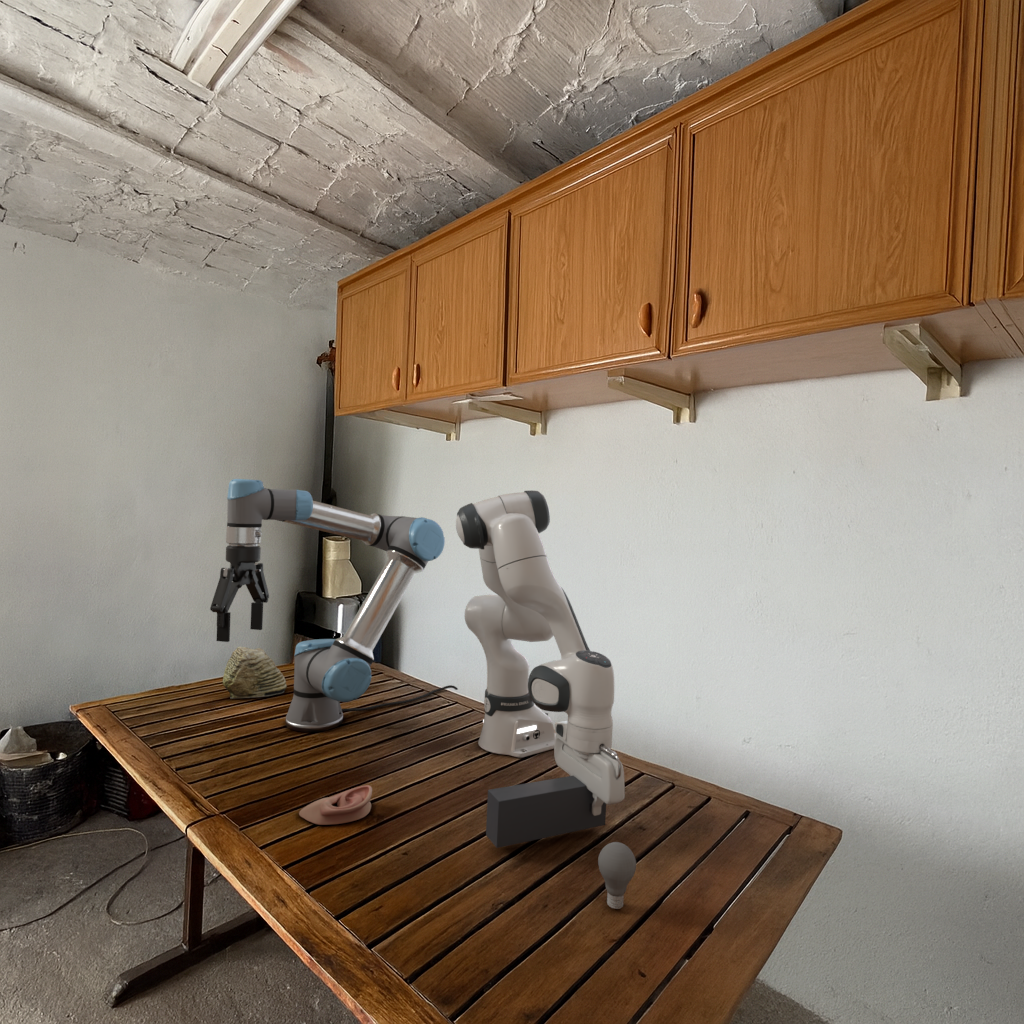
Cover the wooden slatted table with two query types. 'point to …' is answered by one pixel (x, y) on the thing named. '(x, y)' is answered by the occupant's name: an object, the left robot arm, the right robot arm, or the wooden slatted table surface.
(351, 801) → the anatomical model
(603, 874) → the light bulb
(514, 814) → the bar
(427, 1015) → the wooden slatted table surface
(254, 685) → the fossil
